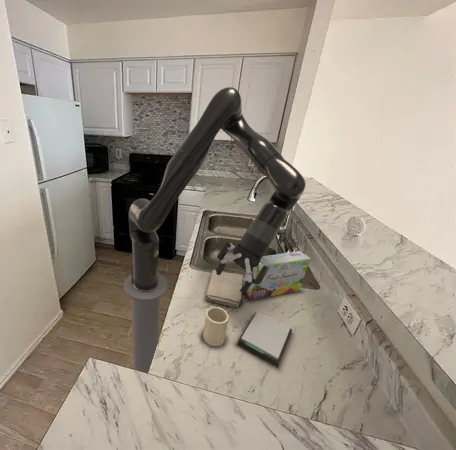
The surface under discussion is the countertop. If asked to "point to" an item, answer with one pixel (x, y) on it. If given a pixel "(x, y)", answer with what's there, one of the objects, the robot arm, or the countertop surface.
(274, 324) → the kitchen scale
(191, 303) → the countertop surface
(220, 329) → the ceramic cup
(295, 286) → the snack box
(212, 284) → the washcloth
